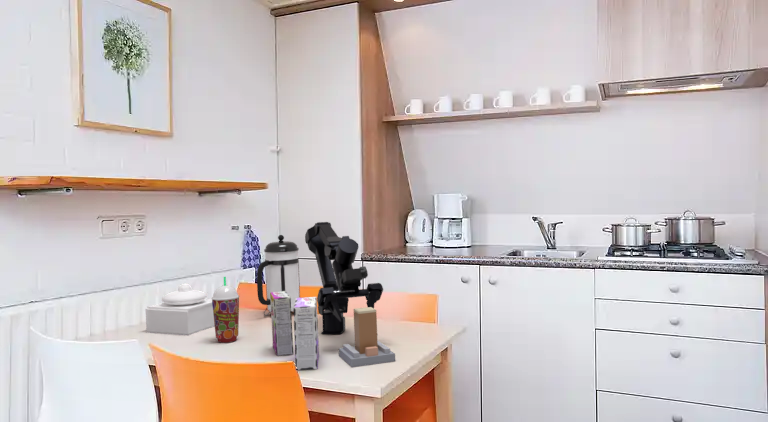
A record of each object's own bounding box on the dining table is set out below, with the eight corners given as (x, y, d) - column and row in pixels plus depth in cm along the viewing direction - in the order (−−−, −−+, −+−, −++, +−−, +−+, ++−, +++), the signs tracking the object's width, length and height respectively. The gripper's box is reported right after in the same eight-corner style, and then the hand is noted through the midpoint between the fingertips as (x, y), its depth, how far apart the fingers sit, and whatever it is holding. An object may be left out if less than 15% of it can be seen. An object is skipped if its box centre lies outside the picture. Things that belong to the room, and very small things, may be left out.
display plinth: (339, 355, 163) (338, 341, 163) (380, 350, 167) (379, 336, 167) (351, 367, 152) (351, 351, 152) (395, 361, 156) (394, 346, 156)
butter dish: (146, 333, 200) (144, 286, 200) (183, 321, 217) (181, 278, 217) (188, 336, 194) (185, 287, 193) (222, 324, 210) (220, 279, 210)
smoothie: (216, 345, 179) (213, 279, 179) (210, 339, 187) (208, 276, 186) (244, 341, 183) (241, 277, 183) (237, 336, 191) (234, 274, 190)
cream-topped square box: (355, 350, 161) (353, 308, 160) (372, 347, 162) (371, 307, 162) (359, 354, 156) (358, 311, 156) (377, 351, 158) (376, 309, 158)
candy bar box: (271, 347, 175) (269, 291, 174) (288, 345, 176) (286, 290, 176) (275, 356, 164) (273, 298, 164) (293, 354, 166) (291, 296, 165)
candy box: (298, 356, 164) (295, 297, 164) (319, 355, 165) (317, 296, 164) (294, 370, 150) (292, 306, 150) (318, 369, 151) (315, 305, 150)
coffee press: (262, 311, 230) (259, 234, 230) (304, 309, 232) (301, 232, 231) (258, 320, 213) (255, 237, 212) (303, 318, 215) (300, 235, 214)
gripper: (318, 259, 167) (329, 305, 157) (380, 255, 174) (394, 299, 164) (312, 283, 175) (323, 328, 165) (372, 278, 181) (385, 321, 172)
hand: (357, 318), depth 166 cm, fingers open, 9 cm apart
